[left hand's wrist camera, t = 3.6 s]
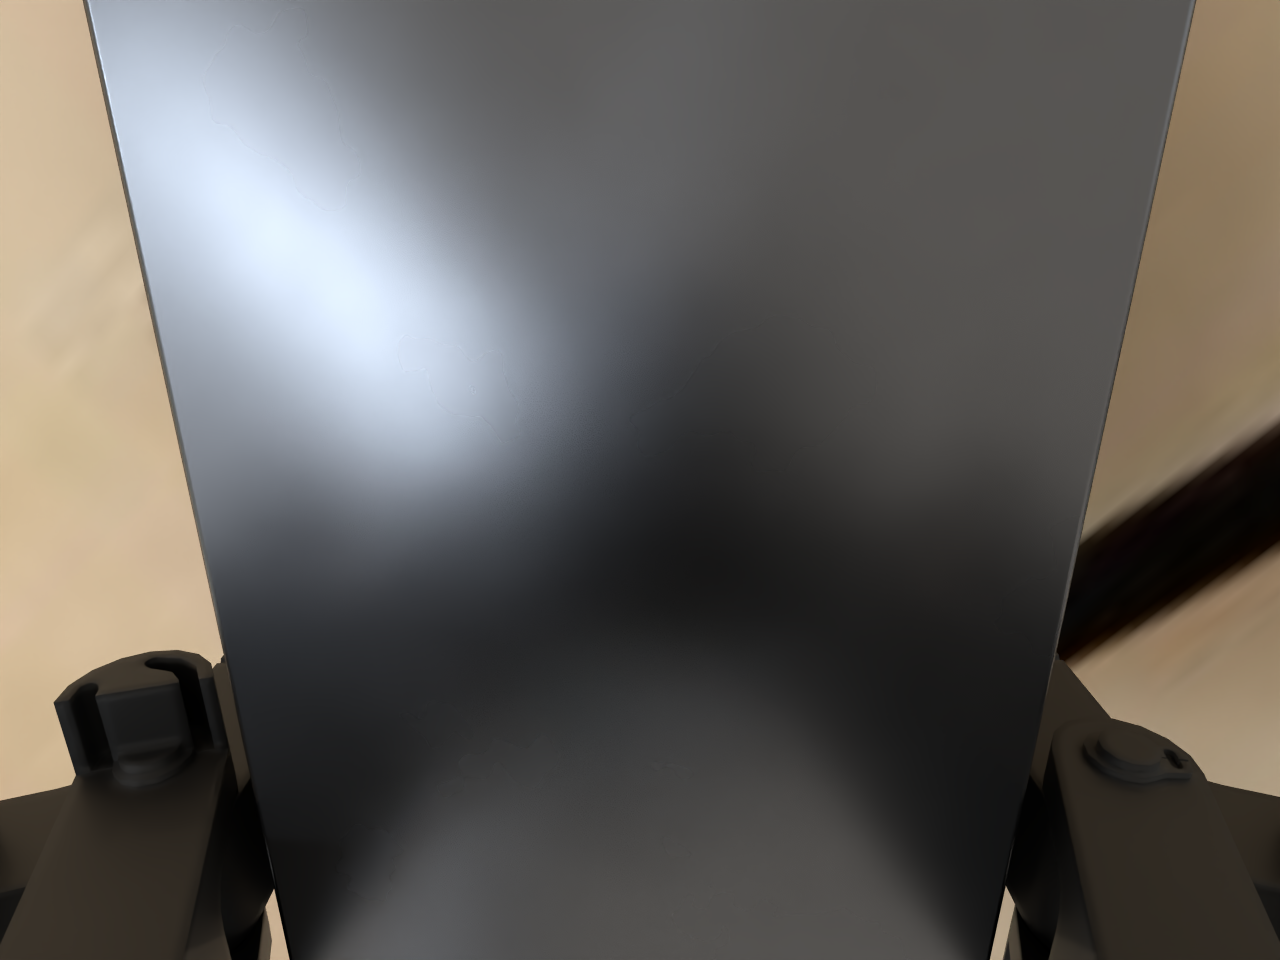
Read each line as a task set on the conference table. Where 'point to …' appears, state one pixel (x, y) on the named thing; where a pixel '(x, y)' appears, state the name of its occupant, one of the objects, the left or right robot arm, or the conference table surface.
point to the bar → (639, 443)
